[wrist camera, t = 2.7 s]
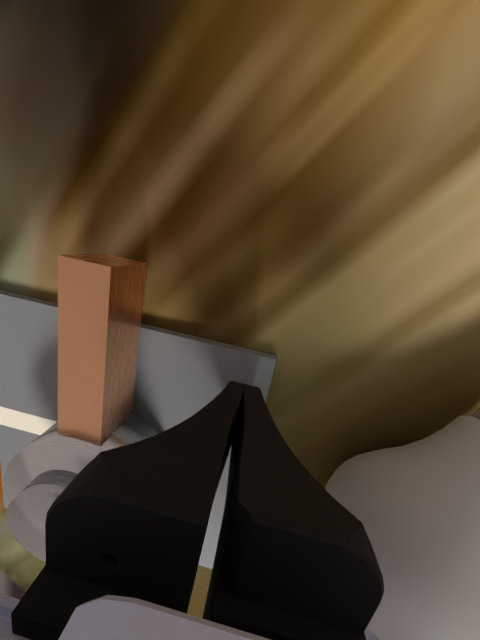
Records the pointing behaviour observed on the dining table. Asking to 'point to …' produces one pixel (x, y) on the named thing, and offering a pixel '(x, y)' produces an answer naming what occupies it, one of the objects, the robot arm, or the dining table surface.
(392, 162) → the dining table surface
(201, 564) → the lock base
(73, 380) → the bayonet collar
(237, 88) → the dining table surface
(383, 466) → the lightbulb
